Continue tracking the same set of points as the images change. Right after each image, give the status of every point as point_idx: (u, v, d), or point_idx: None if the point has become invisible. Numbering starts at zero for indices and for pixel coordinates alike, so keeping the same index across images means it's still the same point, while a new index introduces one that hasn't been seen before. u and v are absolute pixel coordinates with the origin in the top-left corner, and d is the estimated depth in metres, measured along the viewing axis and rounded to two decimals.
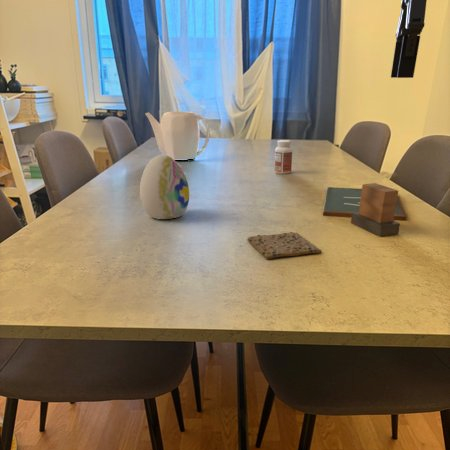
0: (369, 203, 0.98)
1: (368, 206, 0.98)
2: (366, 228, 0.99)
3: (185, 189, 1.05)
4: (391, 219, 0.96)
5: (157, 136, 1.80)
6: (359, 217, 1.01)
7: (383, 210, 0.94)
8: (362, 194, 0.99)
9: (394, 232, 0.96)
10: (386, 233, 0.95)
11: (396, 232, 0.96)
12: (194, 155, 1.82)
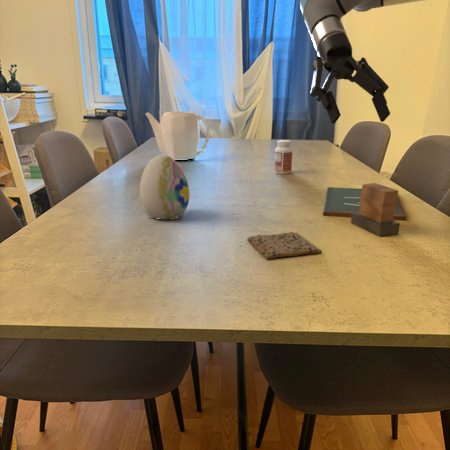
0: (369, 203, 0.98)
1: (368, 206, 0.98)
2: (366, 228, 0.99)
3: (185, 189, 1.05)
4: (391, 219, 0.96)
5: (157, 136, 1.80)
6: (359, 217, 1.01)
7: (383, 210, 0.94)
8: (362, 194, 0.99)
9: (394, 232, 0.96)
10: (386, 233, 0.95)
11: (396, 232, 0.96)
12: (194, 155, 1.82)
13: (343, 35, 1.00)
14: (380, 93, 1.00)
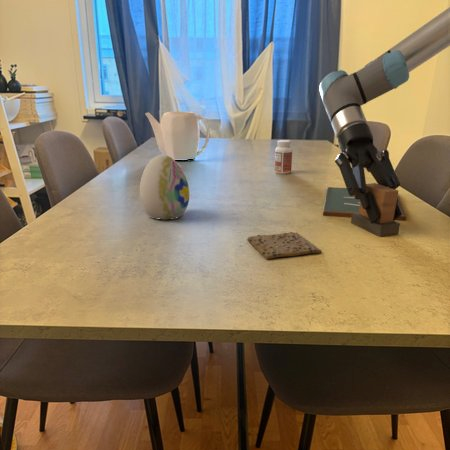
0: None
1: None
2: (366, 228, 0.99)
3: (185, 189, 1.05)
4: (391, 219, 0.96)
5: (157, 136, 1.80)
6: (359, 217, 1.01)
7: (383, 210, 0.94)
8: None
9: (394, 232, 0.96)
10: (386, 233, 0.95)
11: (396, 232, 0.96)
12: (194, 155, 1.82)
13: (364, 125, 0.98)
14: None
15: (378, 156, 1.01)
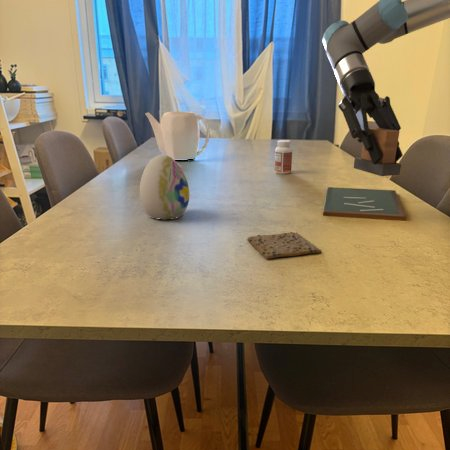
0: None
1: None
2: (368, 170, 1.03)
3: (185, 189, 1.05)
4: (392, 159, 1.00)
5: (157, 136, 1.80)
6: (362, 161, 1.05)
7: (384, 150, 0.98)
8: None
9: (395, 172, 1.00)
10: (388, 173, 1.00)
11: (397, 172, 1.00)
12: (194, 155, 1.82)
13: (366, 71, 1.03)
14: None
15: (380, 102, 1.05)
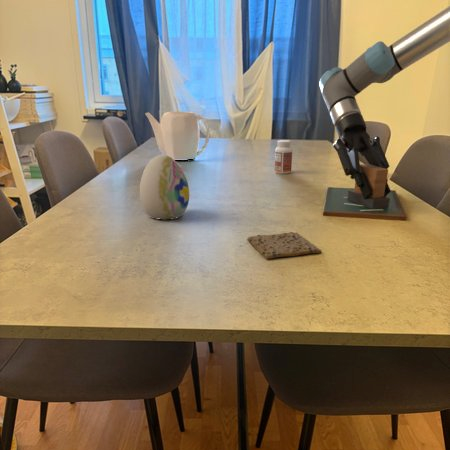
0: None
1: None
2: (361, 203, 1.14)
3: (185, 189, 1.05)
4: (382, 194, 1.11)
5: (157, 136, 1.80)
6: (355, 194, 1.16)
7: (375, 186, 1.09)
8: None
9: (385, 205, 1.11)
10: (378, 206, 1.11)
11: (386, 206, 1.12)
12: (194, 155, 1.82)
13: (358, 115, 1.14)
14: None
15: (370, 142, 1.17)
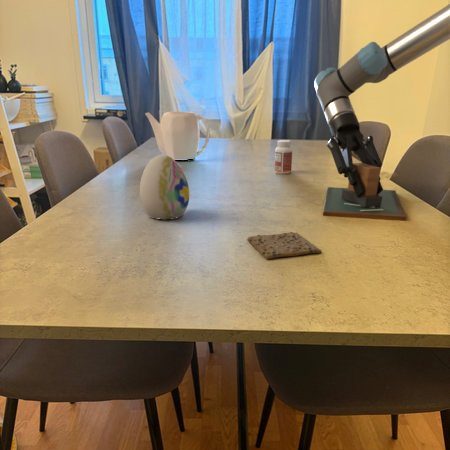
0: None
1: None
2: (354, 201, 1.16)
3: (185, 189, 1.05)
4: (374, 192, 1.13)
5: (157, 136, 1.80)
6: (348, 192, 1.18)
7: (367, 184, 1.11)
8: None
9: (377, 203, 1.13)
10: (370, 204, 1.13)
11: (379, 204, 1.13)
12: (194, 155, 1.82)
13: (351, 114, 1.16)
14: None
15: (364, 141, 1.19)
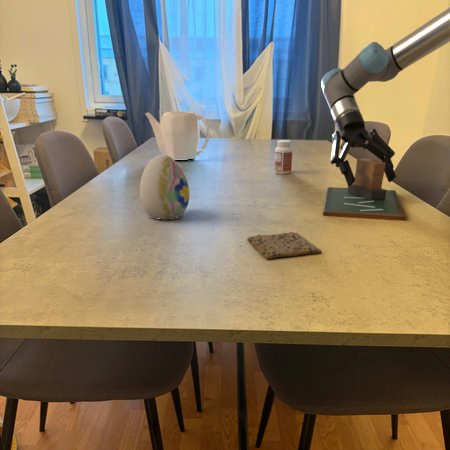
0: (362, 174, 1.21)
1: (361, 176, 1.22)
2: (359, 194, 1.23)
3: (185, 189, 1.05)
4: (379, 186, 1.20)
5: (157, 136, 1.80)
6: (354, 186, 1.24)
7: (373, 178, 1.18)
8: (357, 167, 1.23)
9: (382, 197, 1.20)
10: (375, 197, 1.19)
11: (383, 197, 1.20)
12: (194, 155, 1.82)
13: (357, 113, 1.22)
14: (388, 159, 1.23)
15: (369, 136, 1.26)
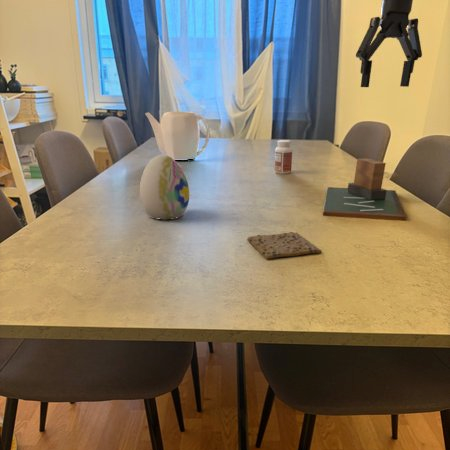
0: (362, 174, 1.21)
1: (361, 176, 1.22)
2: (359, 194, 1.23)
3: (185, 189, 1.05)
4: (379, 186, 1.20)
5: (157, 136, 1.80)
6: (354, 186, 1.24)
7: (373, 178, 1.18)
8: (357, 167, 1.23)
9: (382, 197, 1.20)
10: (375, 197, 1.19)
11: (383, 197, 1.20)
12: (194, 155, 1.82)
13: None
14: (411, 63, 1.21)
15: (408, 25, 1.17)
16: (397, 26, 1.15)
